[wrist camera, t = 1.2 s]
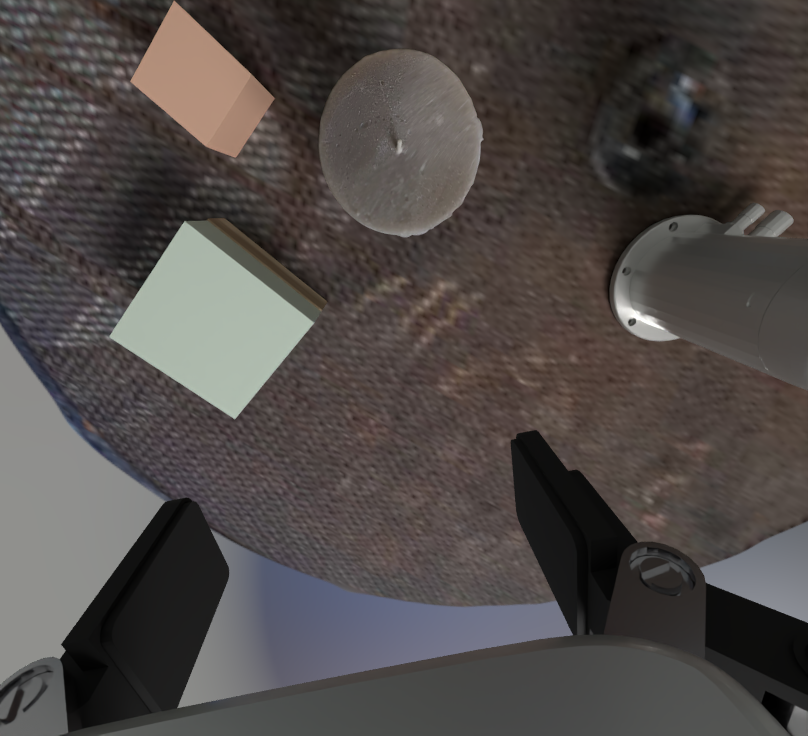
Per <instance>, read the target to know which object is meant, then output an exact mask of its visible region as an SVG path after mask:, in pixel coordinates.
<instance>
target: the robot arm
mask: <svg viewBox="0 0 808 736" xmlns="http://www.w3.org/2000/svg"><path fill="white" fill-rule="evenodd" d="M764 212H765V210H764V208H763V207H762V206H761V205H759V204H757V203H751V204H750V205H749V206H747V207H746V208H745V209H744V210H743V211H742V212H741V213H740V214H739V215H738V217H736V218H735V219H734V220H733V221H732V222H727V223H725V224H722V223H720V222H718V221H716V220H714V219H712V218H709V217H705V216H701V215H680V216H674V217H670V218H667V219H663V220H661V221H659V222H657V223H655V224H653V225H651V226H650V227H648V228H647V229H645V230H644V231H643V232H641V233H640V234H639V235H638V236H637V237H636V238H635V239H634V240H633V241H632V242H631V243H630V244H629V245H628V246H627V248H626V249H625V250H624V252H623V253H622V254H621V256H620V258H619V260H618V262H617V264H616V266H615V269H614V271H613V274H612V277H611V283H610V289H609V290H610V304H611V308H612V311H613V313H614V315H615V317H616V320H617V321H618V322H619V323H620V324H621V326H622V327H623V328H625V329H626V330H627V331H629V332H630V333H632V334H634V335H636V336H638V337H640V338H643V339H646V340H650V341H669V340H674V339H678V338H683V339H685V340H687V341H690V342H692V343H695V344H697V345H699V346H702V347H704V348H706V349H709V350H711V351H714V352H716V353H718V354H721V355H723V356H726V357H728V358H730V359H733V360H735V361H738V362H740V363H742V364H745V365H747V366H749V367H752V368H754V369H757V370H759V371H761V372H764V373H766V374H769V375H771V376H773V377H776V378H778V379H781V380H783V381H785V382H788V383H790V384H792V385H795V386H797V387H800V388H803V389H806V390H808V239H801V238H784V237H778V236H779V235H780V234H781V233H782V232H783V231H784V230H786V229H787V228H788V227H789V226H790V225H791V224H793V221H794V220H793V218H792V216H790V215H789V214H788V213H786V212H784V211H780V210H775V211H773V212H772V213H770V214H769V215H768V216H767V217H766V218H765V219H764V220H763V221H761V222H760V223H759V224H758V225H757V226H756V227H755V229H754V230H753V231H752V232H750V233H749V234H748V235H744V232H743V230H744V229H745V228H746V227H748V226H749V225H750V224H752V223H753V222H754V221H755V220H757V219H758V218H759V217H760V216H761V215H762V214H763V213H764ZM623 269H624V270H623ZM622 271H623V272H622ZM511 453H512V465H513V477H514V489H515V502H516V512H517V516H518V520H519V523H520V525H521V527H522V529H523V531H524V533H525V535H526V537H527V539H528V542H529V544H530V546H531V548H532V550H533V552H534V554H535V556H536V558H537V560H538V563H539V565H540V567H541V569H542V571H543V573H544V575H545V577H546V579H547V581H548V584H549V586H550V588H551V590H552V592H553V594H554V596H555V598H556V600H557V602H558V605H559V606H560V609H561V611H562V613H563V615H564V617H565V619H566V621H567V623H568V626H569V628H570V630H571V632H572V633H573V636H564V637H556V638H548V639H539V640H533V641H527V642H522V643H516V644H510V645H504V646H499V647H492V648H486V649H480V650H474V651H469V652H464V653H459V654H453V655H448V656H443V657H437V658H432V659H427V660H421V661H416V662H411V663H406V664H401V665H395V666H390V667H384V668H379V669H374V670H369V671H364V672H359V673H353V674H348V675H343V676H338V677H333V678H327V679H322V680H317V681H312V682H307V683H302V684H297V685H292V686H287V687H282V688H276V689H271V690H266V691H262V692H256V693H251V694H246V695H241V696H236V697H231V698H226V699H221V700H216V701H211V702H206V703H202V704H197V705H192V706H187V707H182V708H177V707H178V705H179V702H180V699H181V697H182V695H183V692H184V690H185V687H186V684H187V682H188V679H189V677H190V674H191V672H192V669H193V667H194V664H195V662H196V659H197V657H198V654H199V652H200V649H201V647H202V644H203V642H204V639H205V637H206V634H207V631H208V629H209V627H210V624H211V622H212V619H213V617H214V614H215V612H216V609H217V607H218V604H219V601H220V599H221V597H222V594H223V591H224V589H225V587H226V584H227V581H228V578H229V568H228V565H227V563H226V561H225V559H224V557H223V555H222V552H221V550H220V549H219V546H218V544H217V542H216V540H215V538H214V536H213V534H212V532H211V530H210V528H209V526H208V524H207V522H206V520H205V517H204V515H203V513H202V511H201V509H200V507H199V505H198V504H197V503H196V502H194V501H193V502H192V500H191V499H189V498H182V499H177V500H171V501H167V502H165V503H164V504H163V505H162V506H161V508H160V509H159V511H158V512H157V513H156V515H155V516H154V518H153V519H152V520H151V522H150V523H149V524H148V526H147V527H146V529H145V530H144V531H143V533H142V534H141V535H140V537H139V538H138V539H137V541H136V542H135V544H134V545H133V546H132V548H131V549H130V550H129V552H128V553H127V555H126V556H125V557H124V559H123V560H122V561H121V563H120V564H119V566H118V567H117V568H116V570H115V571H114V573H113V574H112V575H111V577H110V578H109V579H108V581H107V582H106V583H105V585H104V586H103V588H102V589H101V590H100V592H99V593H98V595H97V596H96V597H95V599H94V600H93V601H92V603H91V604H90V605H89V607H88V608H87V610H86V611H85V612H84V614H83V615H82V617H81V618H80V619H79V621H78V622H77V623H76V625H75V626H74V627H73V629H72V630H71V632H70V633H69V635H68V636H67V637H66V638H65V640H64V641H63V643H62V644H61V645H62V646H63V647H64V648H65V650H66V651H65V653H64V654H63V656H62V657H61V658H60V659H58V658H55V657H48V658H43V659H40V660H37V661H35V662H32V663H30V664H29V665H27V666H25V667H24V668H22V669H20V670H19V671H17V672H16V673H14V674H13V675H12V676H10V677H9V678H8V679H6V680H5V681H4V682H3V683H2V684H1V685H0V736H808V623H807V622H804V621H802V620H799V619H796V618H794V617H791V616H789V615H786V614H784V613H781V612H778V611H776V610H773V609H771V608H768V607H766V606H763V605H761V604H758V603H756V602H753V601H751V600H748V599H745V598H743V597H740V596H738V595H735V594H733V593H730V592H728V591H725V590H722V589H720V588H717V587H715V586H712V585H710V584H707V583H706V582H705V578H704V575H703V573H702V571H701V570H700V568H699V567H698V565H697V564H696V563H695V562H694V561H693V560H692V559H690V558H689V557H688V556H687V555H685V554H684V553H682V552H680V551H679V550H677V549H675V548H673V547H670V546H668V545H665V544H661V543H656V542H639V543H638V542H637V541H636V540H635V538H634V537H633V536H632V535H631V533H630V532H629V531H628V530H627V528H626V527H625V526H624V525H623V524H622V522H621V521H620V520H619V519H618V517H617V516H616V515H615V514H614V512H613V511H612V510H611V509H610V507H609V506H608V505H607V504H606V503H605V501H604V500H603V499H602V498H601V496H600V495H599V494H598V493H597V491H596V490H595V489H594V488H593V486H592V485H591V484H590V483H589V481H588V480H587V479H586V478H585V477H584V475H583V474H582V473H581V472H580V471H578V470H572V471H568V470H567V469H566V467H565V466H564V465H563V464H562V462H561V461H560V460H559V458H558V457H557V456H556V454H555V453H554V452H553V450H552V449H551V448H550V447H549V445H548V444H547V443H546V441H545V440H544V439H543V437H542V436H541V435H540V433H539V432H538V431H537V430H534V431H529V432H523V433H518V434H517V436H516V439H514V440H511Z"/></svg>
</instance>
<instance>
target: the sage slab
mask: <svg viewBox="0 0 808 736" xmlns="http://www.w3.org/2000/svg"><path fill="white" fill-rule="evenodd" d="M320 313H321V311H320V310H319V309H317V308H316V307H315V306H314V305H312V304H311V303H310V302H309V301H307V300H306V299H305V298H304V297H302V296H301V295H300V294H299V293H297V292H296V291H295V290H294V289H292V288H291V287H290V286H289V285H287V284H286V283H285V282H284V281H282V280H281V279H280V278H279V277H277V276H276V275H275V274H274V273H272V272H271V271H270V270H269V269H267V268H266V267H265V266H264V265H262V264H261V263H260V262H259V261H257V260H256V259H255V258H254V257H252V256H251V255H250V254H249V253H247V252H246V251H245V250H244V249H242V248H241V247H240V246H239V245H237V244H236V243H235V242H234V241H232V240H231V239H230V238H229V237H227V236H226V235H225V234H224V233H222V232H221V231H220V230H219V229H217V228H216V227H215V226H214V225H212V224H211V223H210V222H209V221H184V223H183V224H182V226H181V227H180V229H179V231H178V232H177V234H176V235H175V237H174V238H173V240H172V241H171V243H170V244H169V246H168V247H167V249H166V250H165V252H164V254H163V255H162V257H161V258H160V260H159V261H158V263H157V264H156V266H155V267H154V269H153V270H152V272H151V274H150V275H149V277H148V278H147V280H146V281H145V283H144V284H143V286H142V287H141V289H140V290H139V292H138V293H137V295H136V297H135V298H134V300H133V301H132V303H131V304H130V306H129V307H128V309H127V310H126V312H125V313H124V315H123V317H122V318H121V320H120V321H119V323H118V324H117V326H116V327H115V329H114V330H113V332H112V333H111V335H110V336H109V337H110V338H112V339H113V340H115V341H116V342H118V343H119V344H121V345H122V346H124V347H125V348H127V349H128V350H130V351H132V352H133V353H135V354H136V355H138V356H139V357H141V358H142V359H144V360H145V361H147V362H148V363H150V364H151V365H153V366H154V367H156V368H158V369H159V370H161V371H162V372H164V373H165V374H167V375H168V376H170V377H171V378H173V379H174V380H176V381H177V382H179V383H180V384H182V385H184V386H185V387H187V388H188V389H190V390H191V391H193V392H194V393H196V394H197V395H199V396H200V397H202V398H203V399H205V400H206V401H208V402H210V403H211V404H213V405H214V406H216V407H217V408H219V409H220V410H222V411H223V412H225V413H226V414H228V415H229V416H231V417H232V418H234V419H235V418H236V417H237V416H238V415H239V413H240V412H241V411H242V410H243V409H244V407H245V406H246V405H247V404H248V403H249V401H250V400H251V399H252V398H253V396H254V395H255V394H256V393H257V392H258V390H259V389H260V388H261V387H262V386H263V384H264V383H265V382H266V381H267V379H268V378H269V377H270V376H271V375H272V373H273V372H274V371H275V370H276V369H277V367H278V366H279V365H280V364H281V362H282V361H283V360H284V359H285V358H286V356H287V355H288V354H289V353H290V352H291V350H292V349H293V348H294V347H295V345H296V344H297V343H298V342H299V341H300V339H301V338H302V337H303V336H304V335H305V333H306V332H307V331H308V330H309V328H310V327H311V326H312V325H313V324H314V322H315V321H316V319H317V318H318V316H319V315H320Z"/></svg>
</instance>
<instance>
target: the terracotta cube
mask: <svg viewBox="0 0 808 736" xmlns="http://www.w3.org/2000/svg"><path fill="white" fill-rule="evenodd" d="M130 82H132V83H133V84H134V85H135V86H136V87H137V88H139V89H140V90H141V91H142V92H143V93H144V94H146V95H147V96H148V97H149V98H150V99H151V100H152V101H154V102H155V103H156V104H157V105H158V106H159V107H161V108H162V109H163V110H164V111H165V112H166V113H168V114H169V115H170V116H171V117H172V118H173V119H175V120H176V121H177V122H178V123H179V124H180V125H182V126H183V127H184V128H185V129H186V130H187V131H189V132H190V133H191V134H192V135H193V136H194V137H196V138H197V139H198V140H199V141H200V142H201V143H203V144H204V145H205V146H206V147H208V148H211V149H213V150H216V151H219V152H221V153H224V154H227V155H229V156H232V157H235V158H236V157H237V155H238V154H239V152H240V151H241V149H242V147H243V146H244V144H245V143H246V141H247V140H248V138H249V137H250V135H251V134H252V132H253V131H254V129H255V128H256V126H257V125H258V123H259V122H260V120H261V119H262V117H263V115H264V114H265V112H266V111H267V109H268V108H269V106H270V105H271V103H272V102H273V100H274V99H275V98H274V97H273V96H272V95H271V94H270V93H269V92H268V91H267V90H266V89H265V88H264V87H263V86H262V85H261V84H260V82H259V81H258V80H257V79H256V78H255V77H254V76H253V75H252V74H251V73H250V72H249V71H248V70H247V69H245V68H244V67H243V66H242V65H241V64H240V63H239V62H238V61H237V60H236V59H235V58H234V57H233V56H232V55H231V54H230V53H229V52H228V51H227V50H226V49H225V48H223V47H222V46H221V45H220V44H219V43H218V42H217V41H216V40H215V39H214V38H213V37H212V36H211V35H210V34H209V33H208V32H207V31H206V30H205V29H204V28H202V27H201V26H200V25H199V24H198V23H197V22H196V21H195V20H194V19H193V18H192V17H191V16H190V15H189V14H188V13H187V12H186V11H185V10H184V9H183V8H182V7H180V6H179V5H178V4H177V3H176V2H175V1H174V2H173V4H172V5H171V7H170V9H169V11H168V13H167V15H166V17H165V18H164V20H163V22H162V24H161V26H160V28H159V29H158V31H157V33H156V35H155V37H154V39H153V41H152V42H151V44H150V46H149V48H148V50H147V52H146V54H145V55H144V57H143V59H142V61H141V63H140V65H139V67H138V68H137V70H136V72H135V74H134V76H133V78H132V79H131V81H130Z"/></svg>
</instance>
